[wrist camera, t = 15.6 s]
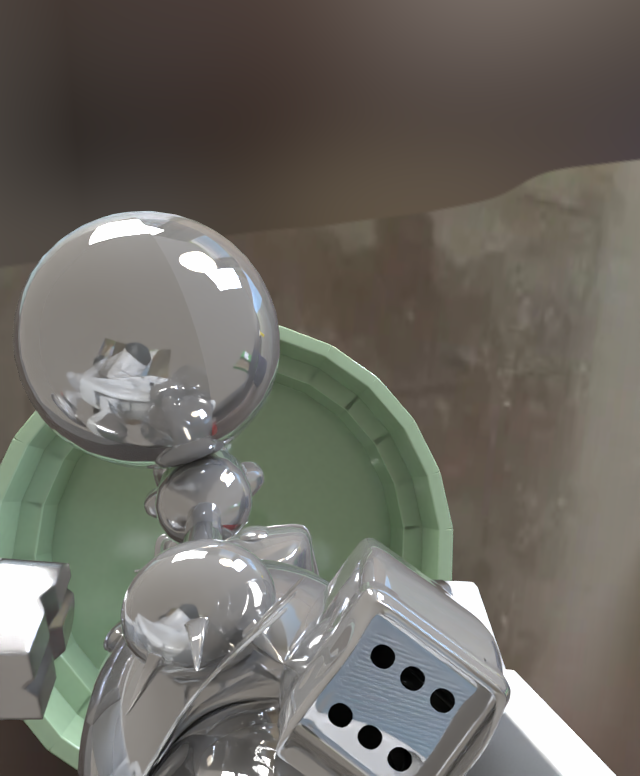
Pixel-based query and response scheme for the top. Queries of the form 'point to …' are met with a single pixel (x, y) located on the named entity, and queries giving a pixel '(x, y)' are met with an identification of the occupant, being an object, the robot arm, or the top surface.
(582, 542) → the top surface
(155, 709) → the robot toy
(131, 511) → the bowl
